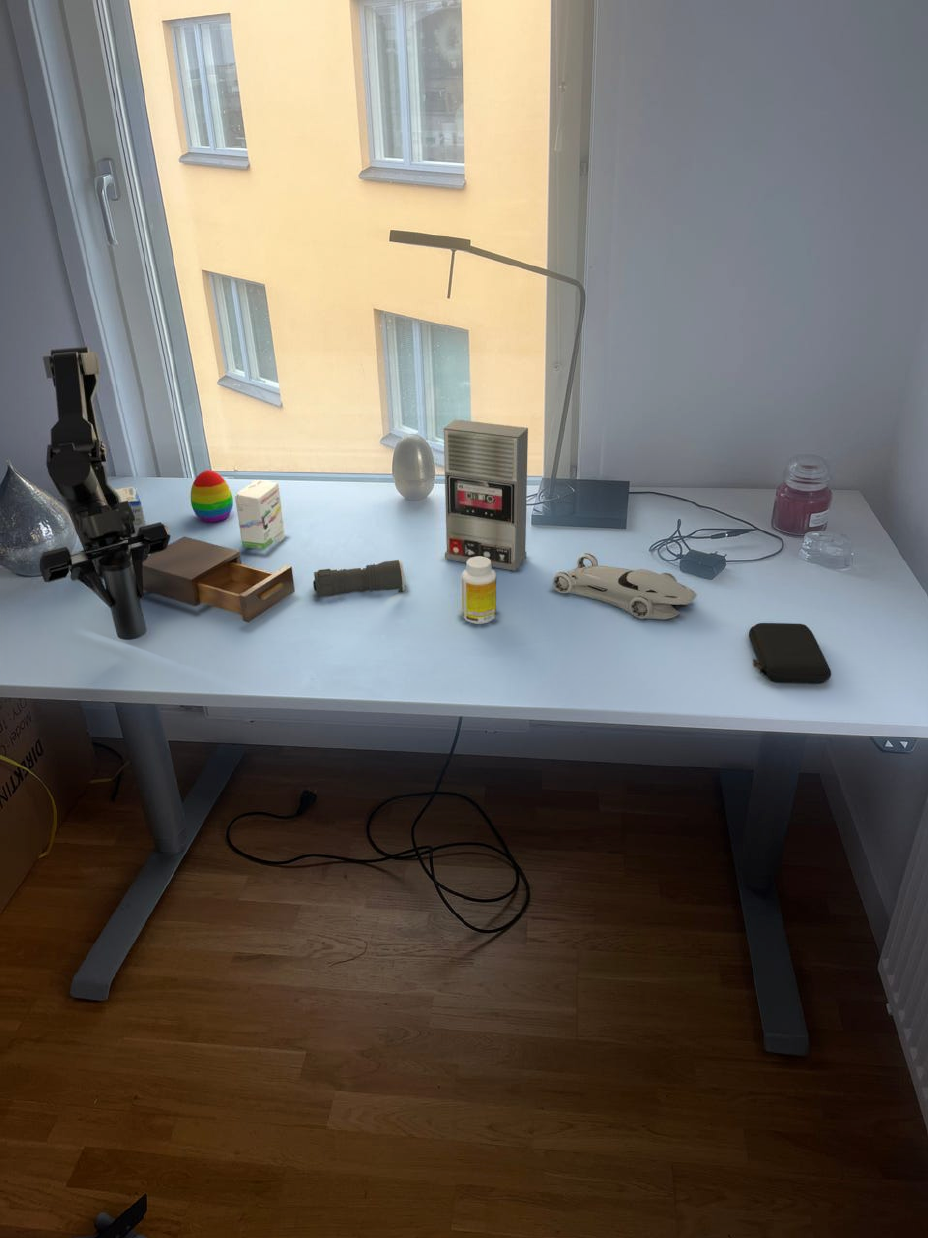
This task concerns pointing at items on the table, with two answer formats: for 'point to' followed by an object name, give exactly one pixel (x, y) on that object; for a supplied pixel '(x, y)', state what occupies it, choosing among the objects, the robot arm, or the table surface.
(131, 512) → the robot arm
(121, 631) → the canister
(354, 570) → the flashlight
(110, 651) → the table surface
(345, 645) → the table surface
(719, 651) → the table surface
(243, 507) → the ink box
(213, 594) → the drawer
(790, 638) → the carrying case
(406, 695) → the table surface
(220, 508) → the decorative egg
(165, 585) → the drawer unit
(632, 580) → the car model
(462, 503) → the cassette tape recorder
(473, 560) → the supplement bottle
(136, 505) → the medicine box
